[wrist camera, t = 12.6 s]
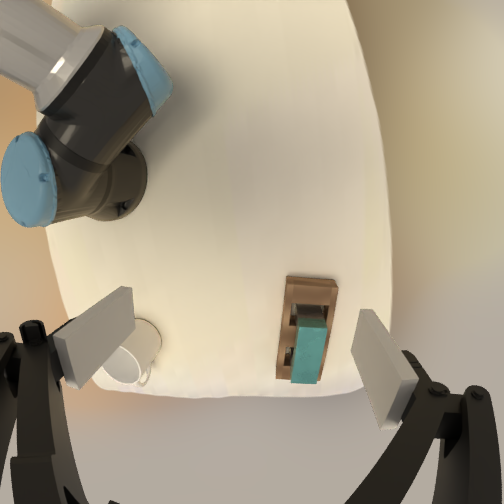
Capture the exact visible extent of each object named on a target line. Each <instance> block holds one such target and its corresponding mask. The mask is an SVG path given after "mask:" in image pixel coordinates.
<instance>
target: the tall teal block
mask: <svg viewBox="0 0 504 504" xmlns="http://www.w3.org/2000/svg"><path fill="white" fill-rule="evenodd" d="M294 312H295V320H296V329H297V330H296V337H295V344H294V347H290V348H289V356H290V378H291V383H302V384H316V383H317V378H318V374H319V369H320V365H321V360H322V355H323V350H324V345H325V340H326V335H327V329H328V328H327V325H326V322H325V319H324V316H323V313H322V309H321V306H320V305H314V304H299V303H295V310H294Z"/></svg>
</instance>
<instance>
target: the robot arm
mask: <svg viewBox="0 0 504 504" xmlns="http://www.w3.org/2000/svg"><path fill="white" fill-rule="evenodd" d="M0 75H2V76H4V77H6V78H7V79H9V80H11V81H13V82H15V83H17V84H19V85H21V86H23V87H24V88H26V89H28V90H30V91H32V93H33V95H34V100H35V106H36V110H37V111H38V112H40V113H42V114H44V115H45V116H44V118H43V119H42V121H41V122H40V124H39V125H38V127H37V129H36V130H35V132H34V133H33V132H25V133H22V134H21V135H18V136H16V137H15V138H14V139H13V140H12V141H11V143H10V144H9V146H8V147H7V150H6V152H5V155H4V157H3V161H2V166H1V191H2V196H3V200H4V203H5V206H6V208H7V210H8V212H9V214H10V215H11V217H12V218H13V219H14V220H15V221H16V222H17V223H18V224H20V225H22V226H24V227H37V226H42V227H46V226H48V225H50V224H53V223H57V222H61V221H65V220H69V219H74V218H78V217H83V216H87V217H90V218H92V219H95V220H98V221H113V220H117V219H120V218H123V217H125V216H127V215H128V214H130V213H131V212H132V211H133V210H134V209H135V208H136V207H137V205H138V204H139V202H140V201H141V199H142V197H143V194H144V191H145V188H146V182H147V169H146V163H145V160H144V157H143V155H142V153H141V152H140V150H139V149H138V148H137V146H136V145H135V144H133V143H132V142H131V141H130V140H131V139H132V138H133V137H134V136H135V135H136V133H137V132H138V131H139V130H140V129H141V128H142V127H143V126H144V124H145V123H146V122H147V121H148V120H149V119H150V118H151V117H154V116H155V115H156V111H157V110H158V109H159V108H160V107H161V106H162V105H163V104H164V102H165V101H166V100H167V99H168V98H169V97H170V95H171V94H172V91H173V83H172V80H171V78H170V76H169V75H168V73H167V72H166V71H165V69H164V68H163V67H162V65H161V64H160V63H159V61H158V60H157V59H156V58H155V57H154V55H153V54H152V53H151V52H150V51H149V50H148V49H147V47H146V46H145V45H144V44H142V43H141V41H140V40H139V39H138V38H137V37H136V36H135V35H134V34H133V33H132V32H131V31H130V30H129V29H128V28H126V27H125V26H119V27H117V28H114V29H113V31H112V32H110V31H109V30H108V29H107V28H105V27H104V26H103V25H95V26H89V27H80V26H79V25H78V24H76V23H75V22H73V21H72V20H71V19H69V18H68V17H66V16H65V15H63V14H62V13H60V12H59V11H57V10H56V9H54V8H53V7H51V6H50V5H48V4H47V3H45V2H44V1H42V0H0ZM19 329H20V333H21V337H22V340H23V343H16V342H15V339H14V336H13V334H12V333H9V332H2V333H0V485H1V479H2V474H3V469H4V464H5V459H6V455H7V451H8V446H9V442H10V439H11V435H12V431H13V428H14V424H15V420H16V418H17V453H18V455H17V457H12V458H11V460H10V469H11V481H12V490H13V497H14V504H89V503H88V501H87V499H86V497H85V494H84V491H83V488H82V485H81V482H80V479H79V474H78V471H77V467H76V464H75V459H74V455H73V451H72V447H71V442H70V437H69V432H68V427H67V421H66V416H65V410H64V402H63V395H62V386H61V383H60V379H61V378H62V377H63V376H64V378H65V381H66V384H67V386H70V387H72V388H75V389H77V390H80V389H81V388H82V387H83V386H84V384H85V383H86V382H87V381H88V380H89V379H90V378H91V377H92V376H93V374H94V373H95V372H96V371H97V370H98V369H99V368H100V367H101V366H102V365H103V364H104V362H105V361H106V360H107V359H108V358H109V357H110V356H111V355H112V354H113V353H114V352H115V350H116V349H117V348H118V347H119V346H120V345H121V344H122V343H123V342H124V341H125V340H126V339H127V338H128V337H129V335H130V334H131V333H132V332H133V331H134V330H135V329H136V326H135V316H134V306H133V294H132V288H131V287H124V286H121V287H119V288H118V289H116V290H115V291H113V292H112V293H110V294H109V295H108V296H106V297H105V298H103V299H102V300H101V301H99V302H98V303H96V304H95V305H93V306H92V307H91V308H89V309H88V310H86V311H85V312H84V313H82V314H81V315H79V316H78V317H75V318H73V319H70V320H69V321H68V322H66V323H65V324H64V325H62V326H60V327H59V328H58V329H56V330H55V331H54V332H52V333H51V334H49V335H48V336H46V332H45V327H44V324H43V322H42V321H39V320H30V321H26V322H24V323H22V324H21V325H20V327H19ZM351 353H352V355H353V358H354V361H355V363H356V366H357V368H358V371H359V374H360V376H361V379H362V381H363V384H364V387H365V389H366V392H367V395H368V398H369V400H370V403H371V405H372V408H373V411H374V414H375V417H376V420H377V423H378V426H379V428H380V430H388V429H396V428H397V426H398V424H399V422H400V420H402V422H403V423H402V425H401V426H400V428H399V430H398V431H397V433H396V435H395V436H394V438H393V439H392V441H391V443H390V444H389V445H388V447H387V449H386V450H385V452H384V453H383V454H382V456H381V457H380V459H379V460H378V462H377V463H376V464H375V466H374V467H373V469H372V470H371V471H370V473H369V474H368V475H367V477H366V478H365V479H364V480H363V482H362V483H361V484H360V485H359V487H358V488H357V489H356V490H355V492H354V493H353V494H352V495H351V496H350V498H349V499H348V500H347V501H346V502H345V504H400V503H401V502H402V500H403V498H404V497H405V495H406V493H407V491H408V490H409V488H410V486H411V484H412V483H413V480H414V479H415V477H416V475H417V473H418V471H419V469H420V467H421V465H422V463H423V461H424V459H425V457H426V455H427V453H428V451H429V448H430V446H431V444H432V442H433V439H434V438H437V439H440V451H439V461H438V470H437V477H436V484H435V491H434V496H433V501H432V504H502V482H501V465H500V454H499V444H498V436H497V430H496V423H495V417H494V412H493V407H492V402H491V397H490V394H489V392H488V391H487V390H486V389H485V388H483V387H481V386H477V385H476V386H475V385H472V386H469V387H468V388H467V389H466V390H465V392H464V394H463V395H460V394H450V391H449V389H448V388H447V387H446V386H445V385H443V384H441V383H439V382H432V380H431V379H430V377H429V376H428V374H427V373H426V371H425V370H424V369H423V368H422V366H421V364H420V363H419V362H418V360H417V359H416V357H415V356H414V355H413V354H412V353H410V352H409V351H407V350H404V351H403V350H400V348H399V347H398V346H397V344H396V342H395V341H394V339H393V338H392V337H391V335H390V334H389V332H388V331H387V329H386V328H385V326H384V325H383V323H382V322H381V321H380V319H379V318H378V316H377V315H376V313H375V312H374V311H373V310H372V309H360V313H359V318H358V322H357V327H356V331H355V335H354V340H353V344H352V348H351ZM108 504H119V503H117V502H114V501H111V500H110V501H109V503H108Z"/></svg>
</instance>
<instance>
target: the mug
mask: <svg viewBox="0 0 504 504" xmlns="http://www.w3.org/2000/svg"><path fill="white" fill-rule="evenodd" d="M135 326H136V329H135V330H134V331H133V332H132V333H131V334H130V335H129V337H128V338H127V339H126V340H125V341H124V342H123V343H122V344H121V345H120V346H119V347H118V348H117V349H116V350H115V352H114V353H113V354H112V355H111V356H110V357H109V358H108V359H107V360H106V361H105V362H104V364H103V365H102V366H101V367H102V368H103V370H104V371H105V373H106V374H107V375H108V376H109V377H111V378H112V379H113V380H115V381H117V382H119V383H121V384H125V385H132V384H133V385H134V386H136V387H143V386H145V385H146V383H147V382H148V380H149V377H150V374H151V362H152V361H153V360H154V358H155V357H156V355H157V354H158V352H159V350H160V347H161V338H160V335H159V333H158V331H157V330H156V328H155V327H154V326H153V325H151V324H150V323H149V322H147V321H145V320H141V319H135ZM145 371H146V372H147V379H146V381H145V382H144V383H141V382H140V381H139V380H140V378H141V377H142V375H143V374H144V373H145Z"/></svg>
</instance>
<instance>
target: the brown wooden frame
mask: <svg viewBox="0 0 504 504" xmlns="http://www.w3.org/2000/svg"><path fill="white" fill-rule="evenodd" d="M337 294H338V286H337V284H336V283H335V281H334V280H329V279H315V278H302V277H289V276H287V277H286V286H285V296H284V305H283V314H282V323H281V331H280V339H279V348H278V356H277V363H276V379H287V380H291V378H290V356H289V354H285V351H286V347H294V344H295V337H296V330H297V329H296V320H295V316H292V315H290V313H291V304H292V303H299V304H314V305H324V310H323V316H324V319H325V322H326V325H327V328H328V329H327V335H326V340H325V345H324V350H323V355H322V360H321V365H320V369H319V374H318V378H317V381H320V379H321V375H322V370H323V366H324V362H325V357H326V352H327V348H328V343H329V338H330V333H331V328H332V322H333V317H334V311H335V306H336V300H337Z"/></svg>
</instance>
